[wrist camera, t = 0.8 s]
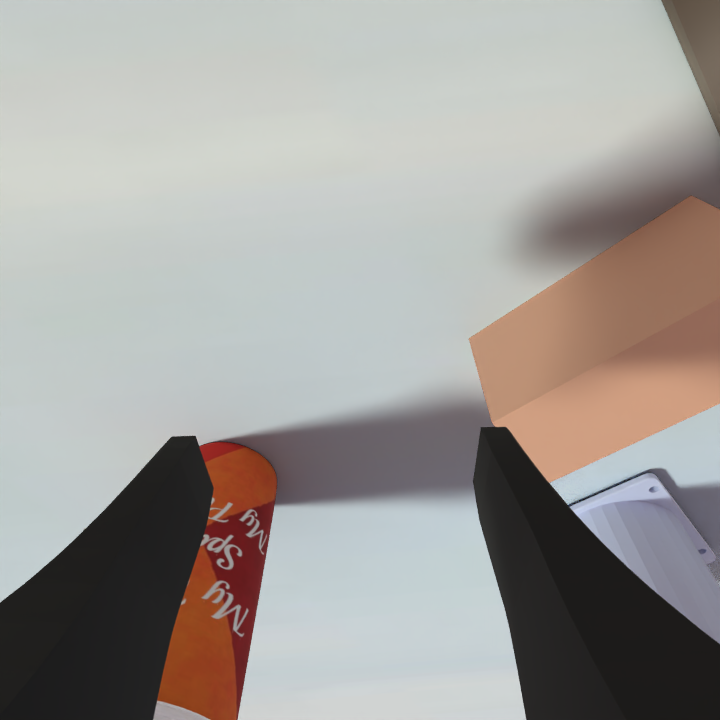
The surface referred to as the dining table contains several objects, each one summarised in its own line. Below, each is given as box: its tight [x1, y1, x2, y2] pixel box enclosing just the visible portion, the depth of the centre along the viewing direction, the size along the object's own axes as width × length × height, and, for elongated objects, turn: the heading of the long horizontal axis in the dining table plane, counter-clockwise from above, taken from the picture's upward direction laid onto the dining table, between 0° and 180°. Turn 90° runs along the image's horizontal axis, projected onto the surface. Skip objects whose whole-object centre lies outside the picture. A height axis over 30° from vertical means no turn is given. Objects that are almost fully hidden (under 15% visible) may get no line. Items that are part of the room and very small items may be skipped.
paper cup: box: [153, 442, 277, 720], centre depth 22 cm, size 8×8×14 cm
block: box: [469, 196, 720, 483], centre depth 18 cm, size 10×4×6 cm, turn 131°
